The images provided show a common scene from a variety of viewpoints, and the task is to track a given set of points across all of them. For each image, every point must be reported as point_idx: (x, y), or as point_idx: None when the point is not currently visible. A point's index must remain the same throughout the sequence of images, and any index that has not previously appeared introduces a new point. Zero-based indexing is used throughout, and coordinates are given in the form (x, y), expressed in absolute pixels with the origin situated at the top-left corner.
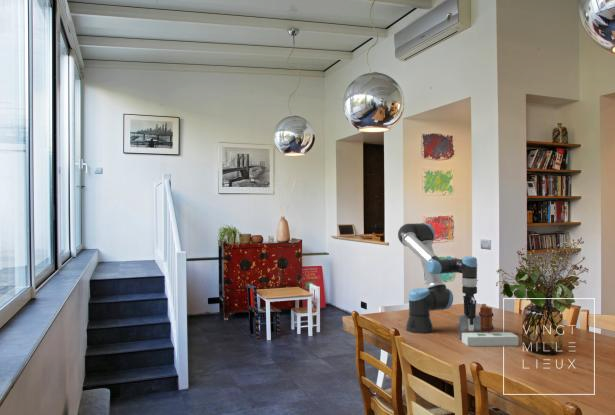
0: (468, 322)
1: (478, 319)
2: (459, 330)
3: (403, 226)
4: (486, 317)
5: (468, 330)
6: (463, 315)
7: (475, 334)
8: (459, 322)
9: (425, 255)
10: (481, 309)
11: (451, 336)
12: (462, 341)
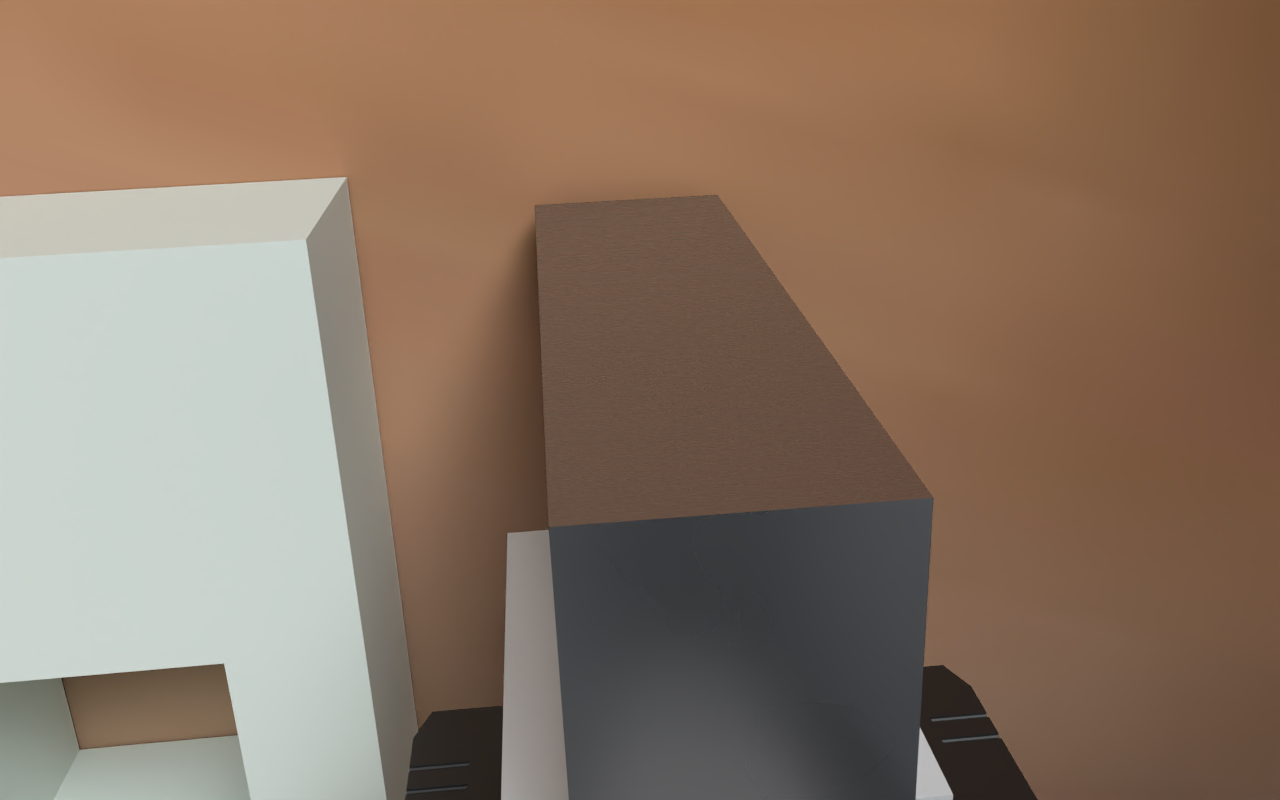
0: (530, 702)
1: None
2: (692, 256)
3: None
4: None
5: (533, 532)
6: (816, 723)
7: (122, 631)
8: (745, 356)
9: None
10: None
11: (940, 17)
12: (281, 184)
